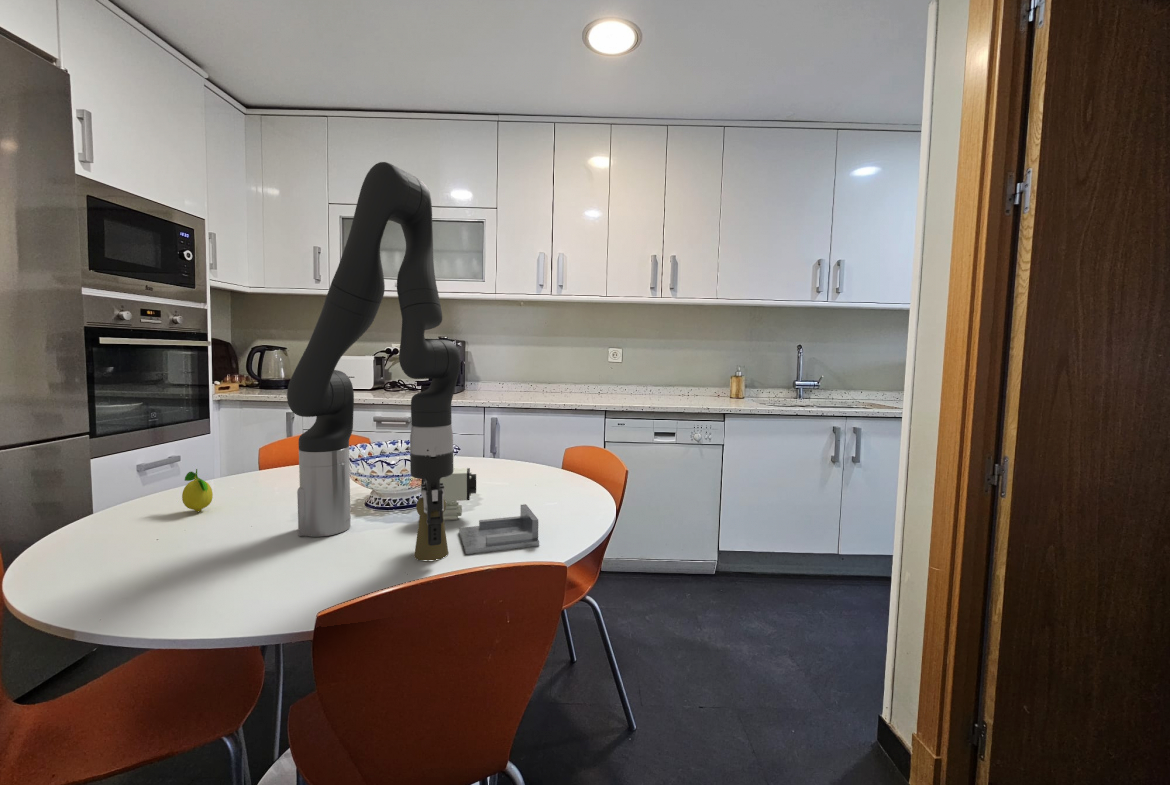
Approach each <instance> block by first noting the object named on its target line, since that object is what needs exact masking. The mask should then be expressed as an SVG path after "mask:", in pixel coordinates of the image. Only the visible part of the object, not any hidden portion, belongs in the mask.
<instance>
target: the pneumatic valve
mask: <svg viewBox="0 0 1170 785" xmlns="http://www.w3.org/2000/svg"><path fill="white" fill-rule="evenodd" d="M440 483H443V486H444V491H445V492H444V496H443V498H444V499H445V502H446V508H445V511H444V512H443V518H444V522H445V521H446V522H447V521H457V520H459V517H461V516H462V514H463V506H462V505H461V504H460V503H459V501H462V502H463V501H470V500H471V496H472V495H473V494H474V495H475V494H477V474H476V473H472V472H471V468H470V467H467V468H466V467H465V468H454V467H453V473H452V474H451V475H450V476H448V477H442V478H441V479H440ZM421 484H424V479H421V482H420V485H421ZM459 504H460V505H459Z"/></svg>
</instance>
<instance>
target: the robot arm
mask: <svg viewBox="0 0 1170 785" xmlns="http://www.w3.org/2000/svg"><path fill="white" fill-rule="evenodd" d="M388 221H391V222H394V223H396V224H399V225H400V226H401V228H402V232H403V236H404V240H405V253H404V256H403V259H402V261H401V264H400V266H399V270H398V273H397V278H396V290H397V291H396V292H397V298H398V303H399V304H398V305H399V308H400V309H399V310H400V313H401V314H400V315H401V333H400V344H399V351H398V360H399V365H400V368H401V371H403V373H404V374H405V375H406V376H407V377H408V378H410V379H412V380H413V379H414V380H424V379H427V380H428V379H432V380H431V382H430V385H429V387H428V389H426V390H424V391H420V392H418V393H415V394H413V395H412V397H411V399H410V422H411V423H410V426H411V427H410V434H409V454H410V455H409V459H410V462H409V463H410V465H409V466H410V471H409V472H410V475H411V477H412V478H413V479H418V480H422V479H424V484H421V483H420V493H421V497H422V498H423V505H424V512H425V513H426V514H427V520H426V523H427V525H428V544H429V545H430V546H432V545H439V544H441V524H442V523H443V510H444V498H443V496H444V492H445V491H444V486H443V483H440V479H441V478H442V477H448V476H450V475H451V474H452V473H453V468H454V434H453V427H452V423H453V422H452V401H453V397H454V394H455V390H456V386H457V383H458V377H459V374H460V369H461V363H462V362H461V359H462V358H461V354H460V351H459V349H458V347H457V346H456V344H455V343H454V342H452V341H450V340H447V339H428V338H427V339H426V337H425V332H426V331H429V330H432V329H435V328H437V327H439V326H440V325H441V324H442V323H443V312H442V307H441V306H442V305H441V301H440V296H439V291H438V286H437V282H436V281H437V280H436V275H435V274H436V273H435V263H434V234H433V233H434V230H433V206H432V198H431V192H430V190H429V187H428V186H427V185H426V184H425V182H424V181H422V180H421V179H419V178H418V177H416V176H415V175H412V174H411V173H409V172H407V171H405V170H403V169H401V168H399V167H398V166H396V165H394V164H392V163H389V162H387V161H379V162H378V163H376V164H374V165H373V166H372V167H370V169H369V171H368V172H367V173H366V174H365V177H364V180H363V181H362V185H361V187H360V190H359V195H358V199H357V202H356V206H355V210H354V213H353V219H352V223H351V225H350V226H351V227H350V230H349V234H348V236H347V240H346V243H345V246H344V249H343V252H342V255H341V258H340V260H339V263H338V266H337V269H336V271H335V274H334V276H333V278H332V280H331V283H330V285H329V289H328V292H327V295H326V297H325V299H324V303H323V306H322V308H321V312H320V315H319V316H318V319H317V322H316V325H315V327H314V329H313V332H312V334H311V337H310V338H309V342H308V343H307V345H306V347H305V349H304V351H303V353H302V356H301V357H300V360H299V361H298V363H297V365H296V367H295V369H294V371H293V373H292V375H291V377H290V380H289V382H288V384H287V391H286V392H287V393H286V399H287V400H286V401H287V404H288V407H289V409H290V410H291V411H292V413H293V414H294V415H297V416H298V417H305V418H313V417H315V418H316V419H315V421H314V423H313V424H312V426H310V428H308V429H307V430H306V431H305V432H303V433H302V434H300V436H299V437H298V444H297V445H298V472H299V487H298V488H297V492H296V493H297V496H296V497H297V526H298V527H297V528H298V530H297V531H298V532H297V533H298V537H303V536H304V537H313V538H318V537H319V538H320V537H328V536H333V535H337V534H340V533H343V532H346V531H347V530H349V529H350V528H351V517H352V516H351V482H350V481H351V473H350V469H351V467H350V438H351V436H352V433H353V430H354V411H355V410H354V408H355V394H354V388H353V387H354V386H353V383H352V381H351V379H350V378H349V376H348V375H347V374H346V373H345V372H343V371H341V370H338V369H336V367H337V365H338V363H339V361H340V360H341V359H342V357H343V355H344V354H345V353H346V352H347V351H348V350H349V349H350V348H351V346H353V345H354V344H355V343H356V342H357V341H358V340H359V339H360V338H361V337H362V336H364V334H365V333H366V332H367V331H368V330H369V328H370V327H371V326H372V324H373V322H375V319H376V316H377V315H378V311H379V309H380V307H381V305H382V301H383V298H384V296H385V287H386V286H385V279H384V278H385V277H384V270H383V265H382V259H381V258H382V257H381V244H382V239H383V236H384V234H385V233H384V232H385V229H386V227H387V224H388ZM431 512H438V516H439V517H431Z"/></svg>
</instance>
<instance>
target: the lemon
mask: <svg viewBox="0 0 1170 785" xmlns="http://www.w3.org/2000/svg"><path fill="white" fill-rule="evenodd" d="M184 481H186V482H188V483H187V484H186V485H185V487H184V488H183V490H182V492H181V493H182V494H181V499H182V503H183V505H184V506H185V507H186V508H187V509H190V510H193V511H194V512H196V511H200V512H201V511H202V510H203V509H205V508H207V507H208V506H209V505H210V504H211V503H212V502H213V501H212V500H213V496H214V494H213V489H212V486H211V485H210V484H209V483H208V482H207V481H205V480H203V479H202V478H199V477H198V468H196V469H195V472H194V471H189V472H187V473H186V475H185V477H184Z"/></svg>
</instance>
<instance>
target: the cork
mask: <svg viewBox="0 0 1170 785" xmlns="http://www.w3.org/2000/svg"><path fill="white" fill-rule="evenodd" d="M415 506H416V507H415V508H416V512H417V514H418V515H419V517H418V526H417V534H416V540H415V548H414V549H415V550H414V555H413V557H414V556H415V557H414V559H415V558H416V559H415V560H417V559H418V560H417V561H419V560H436V559H440V560H442V559H441V558H443V557H445V556H446V555H447V554H448V555H449V549H448V548H449V547H448V540H447V534H446V527H445V521H444V518H443V523H442V524H441V544H439V545H432V546H430V545H429V544H428V525H427V523H426V520H427V514H426V513H425V512H424V505H423V498H422V496H421V497H420V498H418V500H417V501H416V505H415ZM445 508H446V502H445V499H444V510H443V512H444V511H445ZM431 517H439V516H438V512H431ZM448 555H447V556H448ZM447 556H446V557H447ZM446 557H445V558H446ZM443 559H444V558H443ZM436 561H437V560H436Z"/></svg>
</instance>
